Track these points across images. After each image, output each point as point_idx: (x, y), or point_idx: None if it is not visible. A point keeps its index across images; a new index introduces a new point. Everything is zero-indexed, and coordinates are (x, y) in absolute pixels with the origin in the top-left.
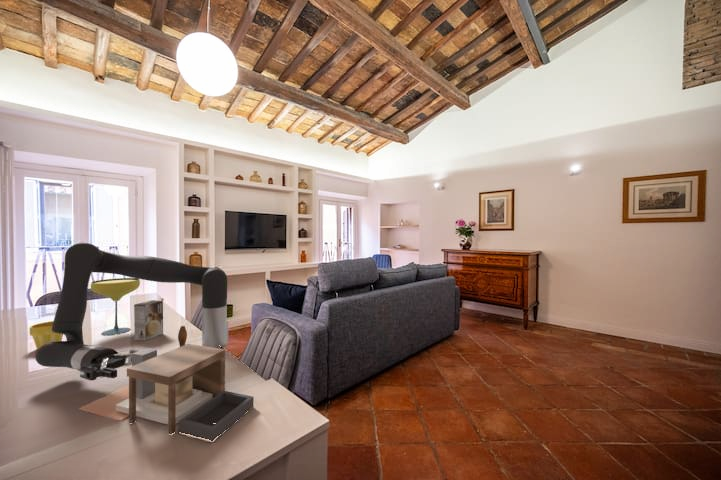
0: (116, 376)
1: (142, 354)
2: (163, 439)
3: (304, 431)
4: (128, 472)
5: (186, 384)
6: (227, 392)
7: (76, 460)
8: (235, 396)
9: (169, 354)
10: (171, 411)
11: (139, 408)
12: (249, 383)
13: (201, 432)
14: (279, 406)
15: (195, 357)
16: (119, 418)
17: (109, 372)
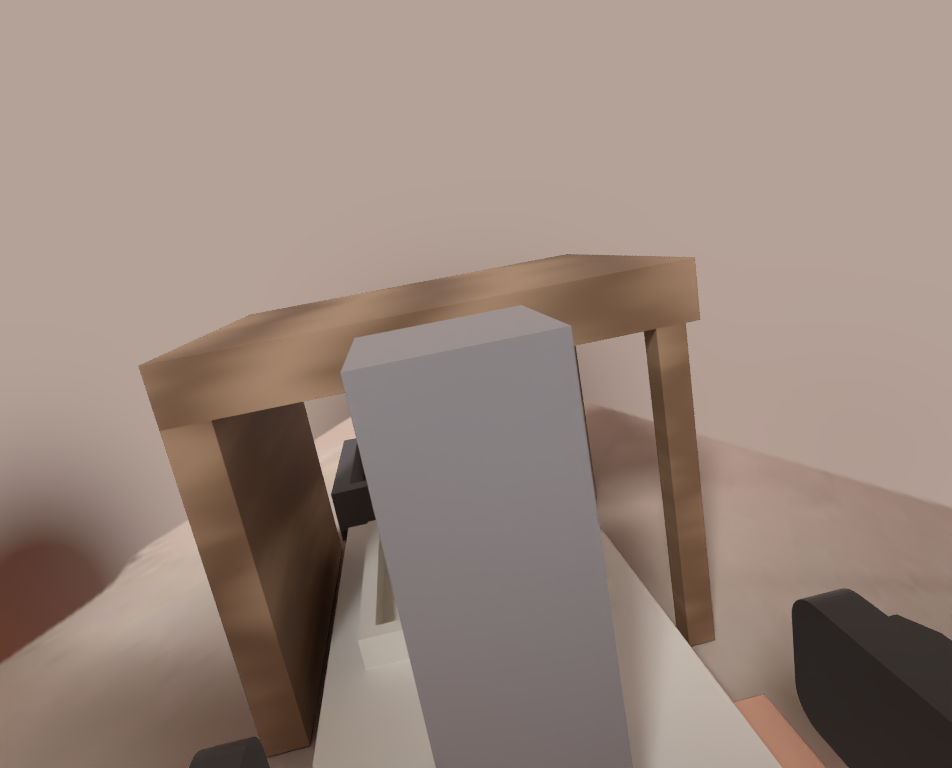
0: (805, 689)
1: (510, 309)
2: (617, 491)
3: None
4: (736, 447)
5: None
6: (342, 480)
7: (940, 543)
8: (354, 465)
9: (399, 307)
10: None
11: (642, 615)
12: (166, 579)
13: None
14: (326, 457)
15: (381, 293)
16: (771, 724)
17: (922, 627)
